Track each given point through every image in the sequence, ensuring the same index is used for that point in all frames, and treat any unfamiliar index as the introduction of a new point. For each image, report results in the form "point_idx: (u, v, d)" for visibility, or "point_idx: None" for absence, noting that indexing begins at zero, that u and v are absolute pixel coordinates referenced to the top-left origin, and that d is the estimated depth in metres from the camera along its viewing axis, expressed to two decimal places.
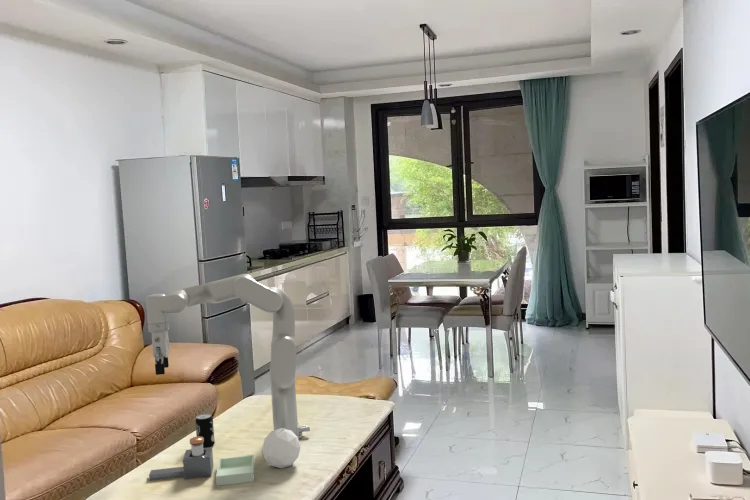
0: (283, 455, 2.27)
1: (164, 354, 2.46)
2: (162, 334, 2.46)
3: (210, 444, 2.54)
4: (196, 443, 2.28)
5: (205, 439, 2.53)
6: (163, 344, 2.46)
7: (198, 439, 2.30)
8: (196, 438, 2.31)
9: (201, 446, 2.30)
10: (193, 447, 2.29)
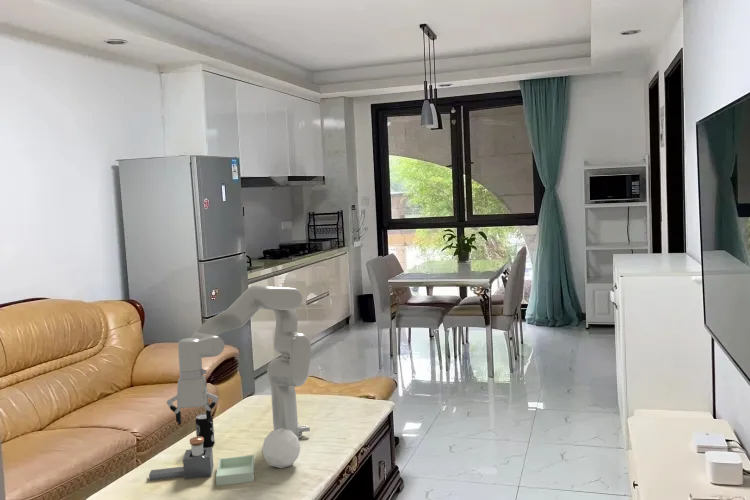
0: (283, 455, 2.27)
1: None
2: None
3: (210, 444, 2.54)
4: (196, 443, 2.28)
5: (205, 439, 2.53)
6: None
7: (198, 439, 2.30)
8: (196, 438, 2.31)
9: (201, 446, 2.30)
10: (193, 447, 2.29)
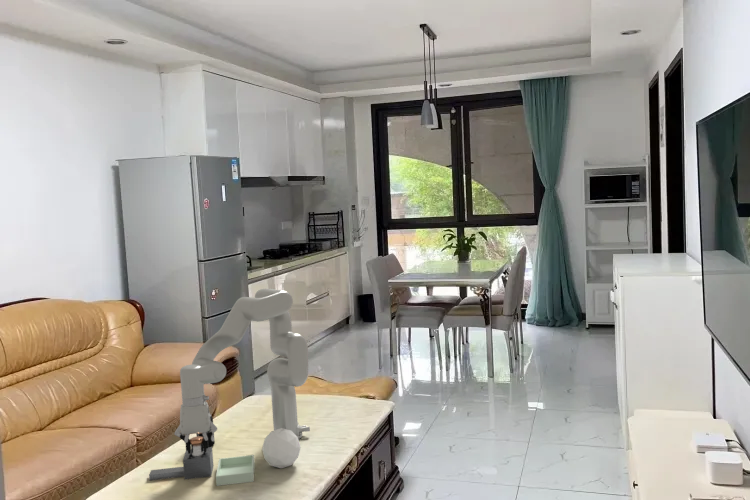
0: (283, 455, 2.27)
1: None
2: None
3: (210, 444, 2.54)
4: (196, 443, 2.28)
5: None
6: None
7: (198, 439, 2.30)
8: (196, 438, 2.31)
9: (201, 446, 2.30)
10: (193, 447, 2.29)
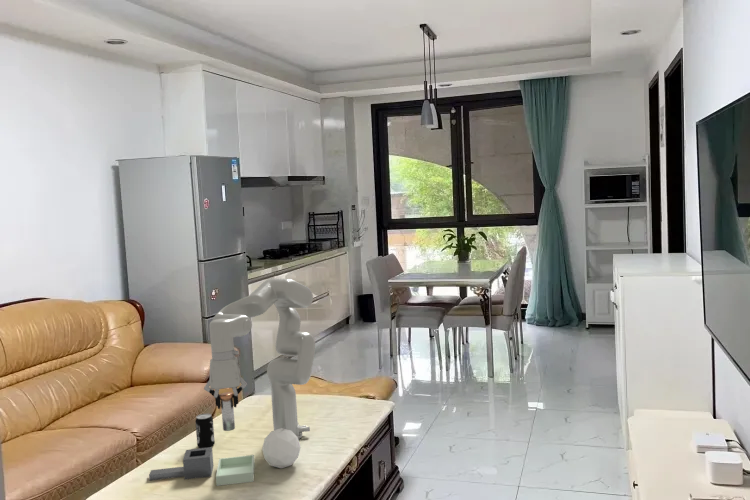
0: (283, 455, 2.27)
1: None
2: None
3: (210, 444, 2.54)
4: (226, 398, 2.24)
5: (205, 439, 2.53)
6: (239, 369, 2.28)
7: (228, 394, 2.26)
8: (226, 393, 2.27)
9: (231, 401, 2.26)
10: (223, 402, 2.25)
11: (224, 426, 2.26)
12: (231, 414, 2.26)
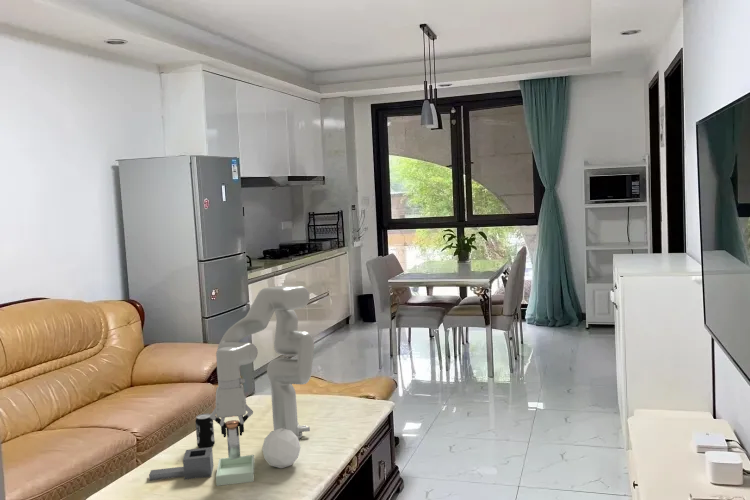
0: (283, 455, 2.27)
1: None
2: None
3: (210, 444, 2.54)
4: (232, 426, 2.25)
5: (205, 439, 2.53)
6: None
7: (234, 423, 2.26)
8: (231, 422, 2.27)
9: (237, 430, 2.26)
10: (229, 431, 2.25)
11: (230, 454, 2.26)
12: (237, 442, 2.26)
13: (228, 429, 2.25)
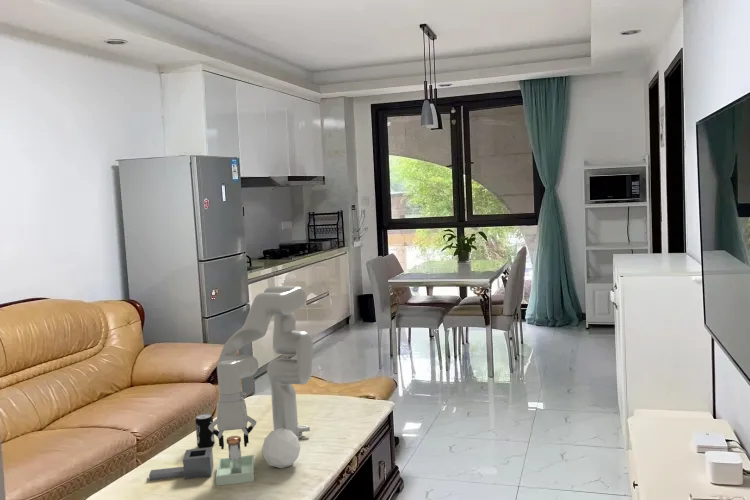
0: (283, 455, 2.27)
1: (247, 420, 2.30)
2: None
3: (210, 444, 2.54)
4: (233, 442, 2.25)
5: (205, 439, 2.53)
6: None
7: (235, 438, 2.27)
8: (233, 437, 2.28)
9: (238, 445, 2.27)
10: (230, 447, 2.26)
11: (231, 470, 2.27)
12: (238, 458, 2.27)
13: (230, 445, 2.26)
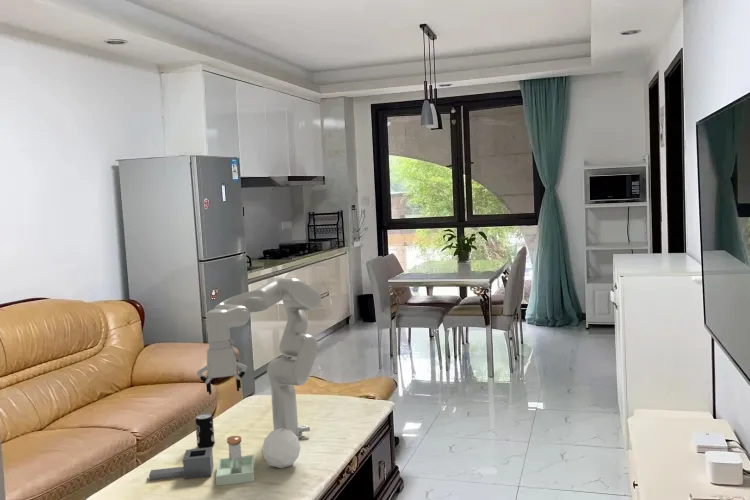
0: (283, 455, 2.27)
1: None
2: None
3: (210, 444, 2.54)
4: (234, 442, 2.26)
5: (205, 439, 2.53)
6: None
7: (236, 438, 2.27)
8: (233, 437, 2.28)
9: (239, 445, 2.27)
10: (231, 446, 2.26)
11: (231, 470, 2.27)
12: (239, 458, 2.27)
13: (230, 445, 2.26)
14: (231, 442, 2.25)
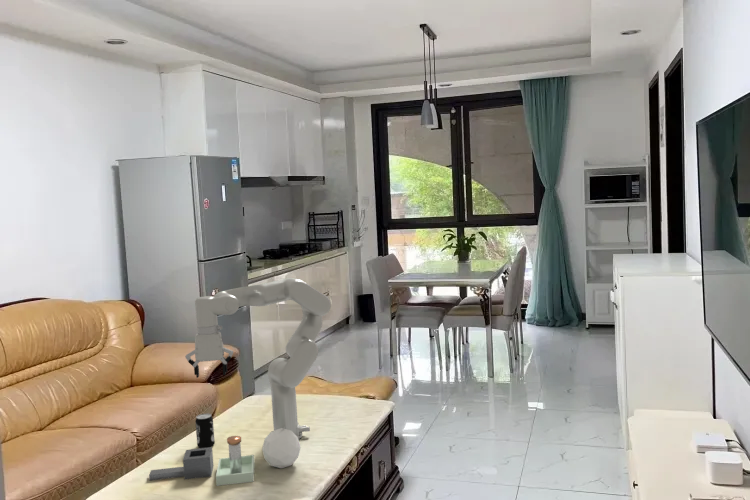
0: (283, 455, 2.27)
1: (223, 353, 2.47)
2: None
3: (210, 444, 2.54)
4: (234, 442, 2.26)
5: (205, 439, 2.53)
6: None
7: (236, 438, 2.27)
8: (233, 437, 2.28)
9: (239, 445, 2.27)
10: (231, 446, 2.26)
11: (232, 470, 2.27)
12: (239, 458, 2.27)
13: (230, 445, 2.26)
14: (231, 442, 2.25)
